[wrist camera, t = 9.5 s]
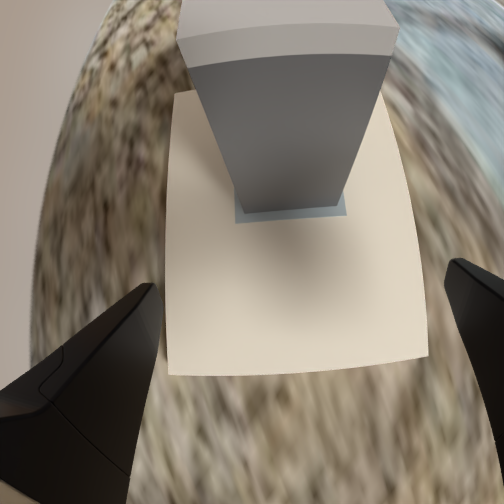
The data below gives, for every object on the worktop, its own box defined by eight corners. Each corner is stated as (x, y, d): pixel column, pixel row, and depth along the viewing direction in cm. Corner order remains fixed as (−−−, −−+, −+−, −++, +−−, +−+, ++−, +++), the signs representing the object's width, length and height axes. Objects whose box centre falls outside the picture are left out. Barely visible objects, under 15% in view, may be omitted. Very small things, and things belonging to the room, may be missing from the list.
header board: (420, 354, 16) (464, 362, 11) (175, 371, 17) (136, 387, 12) (372, 89, 20) (387, 38, 15) (179, 103, 21) (155, 55, 16)
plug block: (336, 206, 17) (400, 27, 5) (244, 213, 17) (176, 39, 6) (322, 129, 18) (344, -52, 6) (239, 136, 18) (190, -42, 7)
